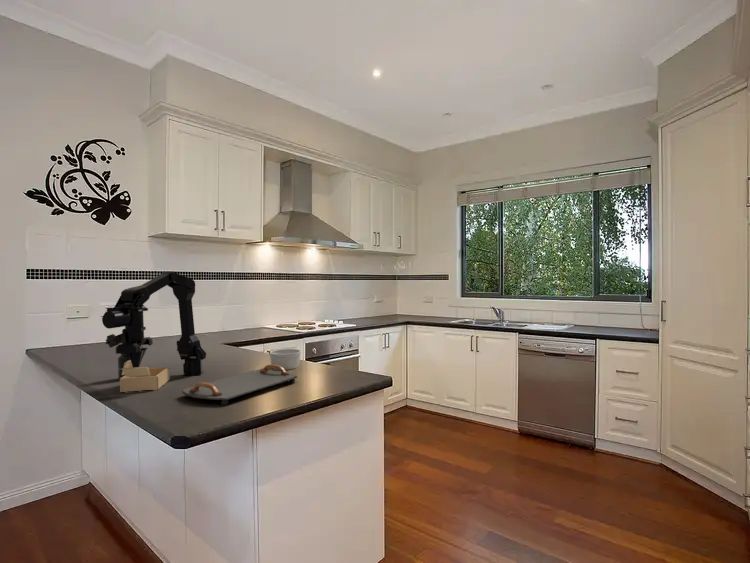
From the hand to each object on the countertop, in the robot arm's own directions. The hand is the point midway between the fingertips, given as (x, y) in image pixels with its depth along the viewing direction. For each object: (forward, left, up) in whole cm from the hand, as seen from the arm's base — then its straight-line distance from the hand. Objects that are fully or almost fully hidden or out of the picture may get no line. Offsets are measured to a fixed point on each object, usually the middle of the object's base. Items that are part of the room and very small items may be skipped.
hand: (136, 369), depth 155 cm
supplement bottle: (+11, -26, -8) cm, 29 cm away
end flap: (0, -2, -3) cm, 3 cm away
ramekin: (-51, -28, -8) cm, 58 cm away
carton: (0, -10, -8) cm, 13 cm away
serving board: (-36, +6, -9) cm, 38 cm away
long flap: (+6, -10, -3) cm, 12 cm away
